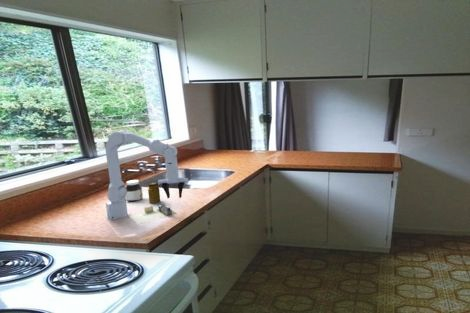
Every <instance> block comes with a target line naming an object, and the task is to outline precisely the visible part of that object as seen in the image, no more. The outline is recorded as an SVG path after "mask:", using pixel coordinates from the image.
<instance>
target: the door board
mask: <svg viewBox="0 0 470 313" xmlns="http://www.w3.org/2000/svg"><path fill="white" fill-rule="evenodd" d="M177 214H178V213H177V212H176V211H174V210H172V215H168V216H167V215H166V214H164V213H163V212H161V211H159V208H157V209H153V212H150V213H145V212H142V213H138V214H133V215H130V216H129V218H130V219H131V220H132V221H133V222H134V223H136V225H140V224H145V223H147V222H148V223H149V222H151V221H152V222H153V221H155V220H159V219H163V218H166V217H171V216H174V215H177Z"/></svg>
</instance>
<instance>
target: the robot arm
mask: <svg viewBox="0 0 470 313" xmlns="http://www.w3.org/2000/svg"><path fill="white" fill-rule="evenodd" d="M107 138H108V140H107V142H106V145H105V147H104V149H105V156H106V163H107V168H108V169H107V170H108V176H109V185H108V188H107V189H108V190H107V191H108V192H107V200H109V201H108V202H107V203H105V208H106V215H107V216H106V217H107V218H108V219H109V220H110V221H112V220H116V219H122V218H125V217H126V216H128V215H129V214H128V207H127V206H128V205H127V200H126V198H125V195H126V194H127V189H126V186H125V182H124V181H123V180H122V173H121V166H120V158H119V152H118V150H119V149H120V148H121V146H123V144H125V143H135V144H138V145H140V146H143V147H147V148H148V149H149V151H150V152H153V153H156V154H158V155H160V156H163V157H164V162H165V175H166V178H164V179H158V180H157V183H158V185H161V187H162V189H163V191H164V193H165V194H166V197H167V199H170V198H171V196H170V195H171V194H170V184H177V188H178V197H179V199H181V198H182V193H183V190H184V186H185V184H188V183H189V178H186V177H185V178H183V177H182V178H181V177H179V167H178V166H179V165H178V158H177V155H178V149H177V147H176V146H174V145H172V144H168V143H164V142H162V141H161V140H160V139H152V140H150V139H147V138H146V137H143V136H141V135H139V134H136V133H134V132H132V131H129V130H126V129H120V130H118V131H113V132H112V133H111V134H109V135H108V137H107Z"/></svg>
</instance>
